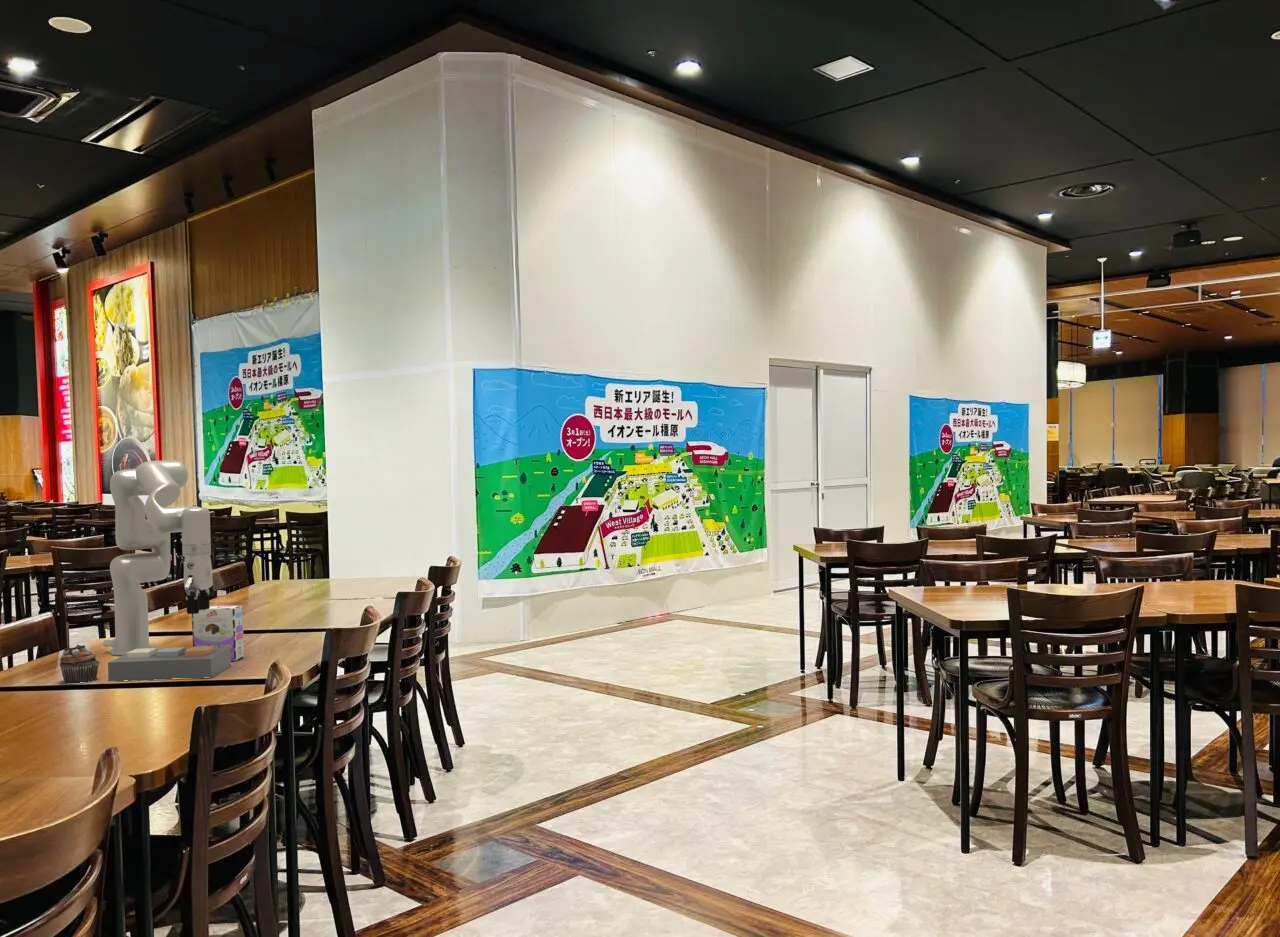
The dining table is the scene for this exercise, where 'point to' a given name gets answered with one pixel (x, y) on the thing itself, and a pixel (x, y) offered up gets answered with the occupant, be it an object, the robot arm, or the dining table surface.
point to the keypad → (169, 666)
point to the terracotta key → (199, 651)
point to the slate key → (171, 652)
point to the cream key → (142, 653)
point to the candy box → (220, 629)
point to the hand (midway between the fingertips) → (198, 610)
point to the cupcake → (78, 665)
